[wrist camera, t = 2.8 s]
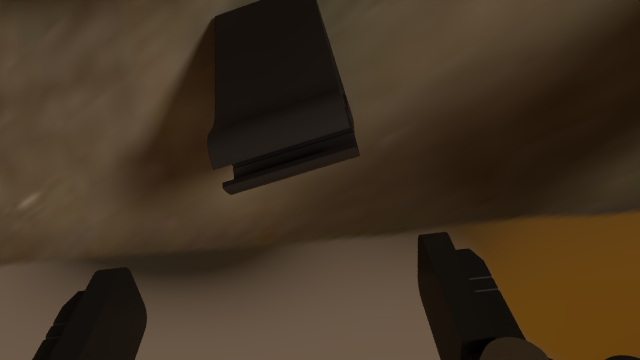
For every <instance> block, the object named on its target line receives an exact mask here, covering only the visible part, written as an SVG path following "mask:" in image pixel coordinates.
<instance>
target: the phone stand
mask: <svg viewBox="0 0 640 360" xmlns="http://www.w3.org/2000/svg"><path fill="white" fill-rule="evenodd" d="M207 143H208V152H209V157H210V161H211V164H212V167H213V170H215V169H218V168H222V167H225V166H228V165H231V164H232V166H233V172H234V179H233V180H230V181H227V182H224V183H223V189H224V190H225V191H226V192H227V193H228V194H230V195H232V194H236V193H239V192H242V191H246V190H249V189H252V188H256V187H259V186H262V185H266V184H269V183H272V182H275V181H279V180H282V179H285V178H289V177H292V176H295V175H299V174H302V173H305V172H308V171H312V170H315V169H318V168H322V167H325V166H328V165H332V164H335V163H338V162H341V161H345V160H348V159H351V158H355V157H358V156H360V154H359V150H358V146H357V143H356V139H355V134H354V122H353V117H352V114H351V110H350V107H349V104H348V101H347V97H346V94H345V91H344V88H343V84H342V81H341V78H340V75H339V72H338V68H337V65H336V62H335V59H334V56H333V52H332V49H331V46H330V42H329V39H328V36H327V33H326V29H325V26H324V23H323V20H322V17H321V13H320V10H319V7H318V4H317V0H260V1H257V2H254V3H251V4H249V5H246V6H243V7H240V8H237V9H235V10H232V11H229V12H226V13H223V14H221V15H218V16H215V121H214V126H213V128H212V130H211V131H210V132H209V134H208V140H207Z"/></svg>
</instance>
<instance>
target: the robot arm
mask: <svg viewBox="0 0 640 360" xmlns="http://www.w3.org/2000/svg"><path fill="white" fill-rule="evenodd" d="M418 286H419V292H420V296H421V300H422V303H423V306H424V309H425V313H426V316H427V319H428V321H429V325H430V328H431V331H432V334H433V337H434V340H435V343H436V346H437V349H438V353H439V356H440V359H441V360H552V359H550V358H548V357H547V355H546V354H545V353H544V352H543V351H542V350H541V349H540V348H538V347H537V346H535V345H534V344H532V343H530V342H528V341H527V340H526V339H525V337H524V336H523V334H522V332H521V330H520V328H519V326H518V324H517V323H516V321H515V319H514V317H513V315H512V313H511V311H510V309H509V308H508V306H507V304H506V302H505V300H504V298H503V296H502V294H501V292H500V291H498V287H497V285H496V283H495V281H494V279H493V278H492V277H491V274H490V272H489V270H488V268H487V266H486V264H485V262H484V260H482V259H481V258H480V257H479V256H477V255H476V254H475V253H474V252H473V251H471V250H470V249H460V250H455V248H454V246H453V243H452V241H451V239H450V237H449V235H448V233H446V232H441V233H432V234H423V235H419V237H418ZM146 322H147V313H146V308H145V305H144V302H143V300H142V298H141V295H140V293H139V291H138V288H137V286H136V283H135V281H134V279H133V276H132V274H131V272H130V270H129V269H128V268H126V267H123V268H114V269H105V270H98V271H97V272H95V274H94V275H93V277H92V279H91V280H90V283H89V284H88V286H87V288H86V290H85V291H78V292H77V293H76V294H75V295H74V296H73V297H72V298H71V299H70V300H69V301H68V302H67V303H66V304H65V305H64V306H63V307H62V309H61V310H60V312H59V314H58V316H57V317H56V319H55V321H54V323H53V324H54V325H53V326H52V327H51V328H50V330H49V331H48V333H47V335H46V340H44V341H43V342H42V344H41V345H40V347H39V349H38V351H37V352H36V354H35V356H34V358H33V359H32V360H135V357H136V354H137V352H138V348H139V346H140V343H141V340H142V337H143V334H144V331H145V328H146ZM606 360H640V359H639V358H636V357H632V356H622V355H619V356H613V357H609V358H607V359H606Z"/></svg>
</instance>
